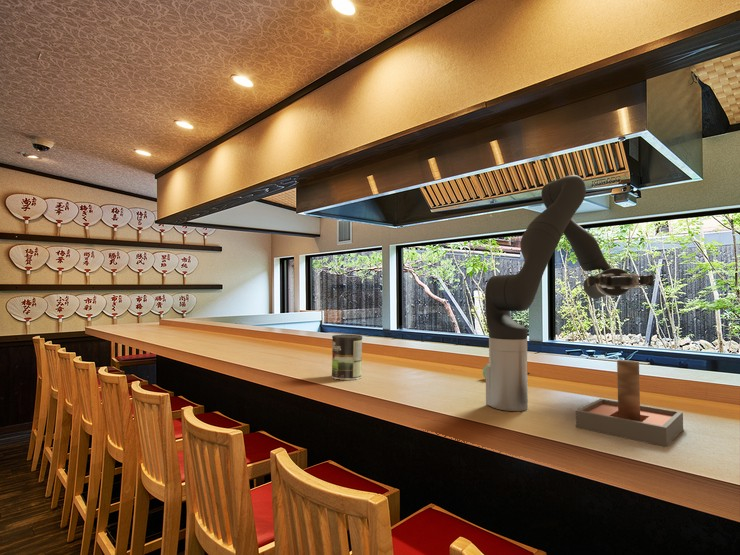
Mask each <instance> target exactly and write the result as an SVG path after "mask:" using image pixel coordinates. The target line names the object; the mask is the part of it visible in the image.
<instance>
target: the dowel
mask: <svg viewBox="0 0 740 555" xmlns="http://www.w3.org/2000/svg"><path fill="white" fill-rule="evenodd" d="M616 368H617V374H616V376H617V378H616V380H617V401H618V418H624V419H629V420H634V421H639V422H640V405H641V393H640V392H641V391H640V388H641V387H640V362H639V361H635V360H627V359H624V360H623V359H618V360H616Z"/></svg>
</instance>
